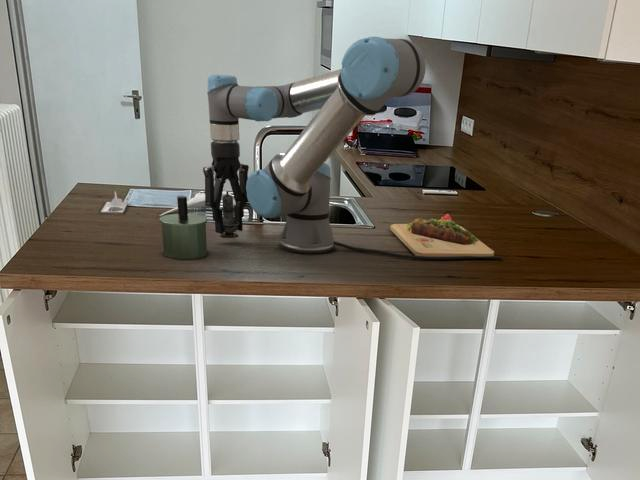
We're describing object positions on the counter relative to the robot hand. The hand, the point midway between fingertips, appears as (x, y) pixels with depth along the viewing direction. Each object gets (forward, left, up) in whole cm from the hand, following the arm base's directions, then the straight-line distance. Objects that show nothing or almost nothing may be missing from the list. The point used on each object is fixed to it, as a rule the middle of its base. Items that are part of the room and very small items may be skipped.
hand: (229, 231), depth 209 cm
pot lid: (+3, +16, +5) cm, 17 cm away
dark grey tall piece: (0, 0, -2) cm, 2 cm away
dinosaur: (+28, -28, -4) cm, 40 cm away
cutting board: (-50, -38, -4) cm, 63 cm away
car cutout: (+53, -15, -4) cm, 56 cm away
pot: (+3, +16, -3) cm, 17 cm away
